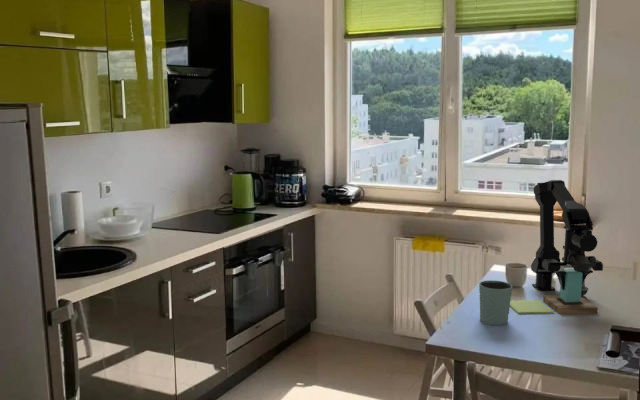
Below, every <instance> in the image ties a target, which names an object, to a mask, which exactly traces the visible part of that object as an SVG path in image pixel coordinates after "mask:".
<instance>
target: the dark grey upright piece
mask: <svg viewBox="0 0 640 400" xmlns="http://www.w3.org/2000/svg"><path fill="white" fill-rule="evenodd" d="M586 279H587V277H586V278H585V280H584V282H583V284H582V289H581V296H582V297H583V298H585V299H586V300H588V297H586V295H587V293H588V291H589V288H588V287H586V283H585V281H586Z"/></svg>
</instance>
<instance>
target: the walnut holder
mask: <svg viewBox="0 0 640 400" xmlns="http://www.w3.org/2000/svg"><path fill="white" fill-rule="evenodd" d="M542 303H544V304H545V305H546V306H547V307H549V308H550V309H551V310H552V311H554V312H556V313H557V314H558V315H563V314H566V315H567V314H570V315H571V314H573V315H575V314H576V315H577V314H598V311H599V310H598V309H599V308H598V306H596V305H595V304H594V303H592V302H590V301H589V300H588V299H585V298H583V297H582V296H581V302H565V301H564V300H562V299H561V298H560V295H543V298H542Z"/></svg>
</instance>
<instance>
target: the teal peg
mask: <svg viewBox="0 0 640 400" xmlns="http://www.w3.org/2000/svg"><path fill="white" fill-rule="evenodd" d="M564 271H566V274H565V288H564V290H562V288H561V285H560V284H559V285H560V288H559V296H560V298H561V299H562V300H564V301H565V302H581V289H582V275H583V273H582V272H576V271H575V270H574V268H564Z"/></svg>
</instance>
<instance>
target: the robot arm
mask: <svg viewBox="0 0 640 400" xmlns="http://www.w3.org/2000/svg"><path fill="white" fill-rule="evenodd" d="M533 193H534V199H535V201H536V203H537V205H538V206H539V234H540V235H539V236H540V237H539V239H540V240H539V242H540V244H539V247H538V248H537V250H536V251H535V258H534V259H533V261H532V262H531V264H530V269H531V270H530V271H531V272H533V273H535V274H536V275H535V283H532V284H531V285H532V287H533V288H535V289H536V290H538V291H556V288H555V287H554V286H553V274H555V275H556V277H557V279H558V282H559V285H561V288H562V290H564V288H565V274H566V271H564V269H574V270H575V271H576V272H582V273H583V275H582V284H583V282H584V280H585V281H586V279H587V277H588V276H589V275H590V274H593V273H594V271H598V272H599V271H601V272H602V271H604V263H603V262H602V261H600V260H599V259H597V258H596V257H595V256H594V255H587V256H586V253H585V252H587V253H588V252H592V251H594V250H596V248H597V246H598V240H597V237H596V236H595V235H593V229H594V227H593V222H592V218H591V216H590V213H589V211H588V209H587V208H586V207H585V206H584V205H583V204H581V203H579V202H577V201H576V200H575V199H574V197H573V195H572V194H571V192H570V191H569V189H568V188H567V187H566V184H565V181H564V180H562V179H551V180H547V181H544V182H537V183H536V185H535V186H534V187H533ZM557 203H558V205H559V206H560V208H561V210H562V214H561V217H562V220H563V223H564V224H565V225H564V226H563V229H564V230H565V231H564V232H565V234H564V236H565V237H564V245H562V249H563V256H562V258H561V259H560V254H561V253H560V251H559V250H558V249H557V248H556V247H555V223H554V222H555V221H554V220H555V211H554V210H555V209H554V207H555V205H556V204H557ZM585 278H586V279H585Z"/></svg>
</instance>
